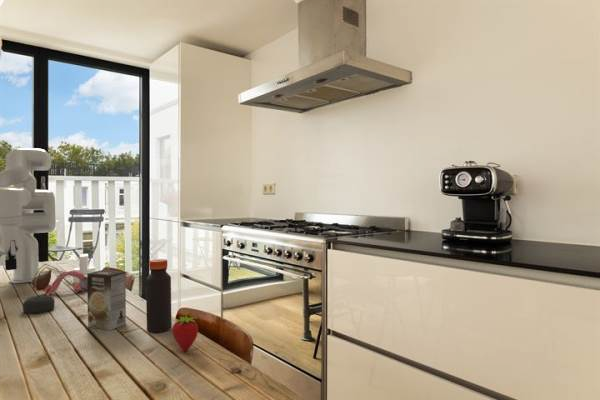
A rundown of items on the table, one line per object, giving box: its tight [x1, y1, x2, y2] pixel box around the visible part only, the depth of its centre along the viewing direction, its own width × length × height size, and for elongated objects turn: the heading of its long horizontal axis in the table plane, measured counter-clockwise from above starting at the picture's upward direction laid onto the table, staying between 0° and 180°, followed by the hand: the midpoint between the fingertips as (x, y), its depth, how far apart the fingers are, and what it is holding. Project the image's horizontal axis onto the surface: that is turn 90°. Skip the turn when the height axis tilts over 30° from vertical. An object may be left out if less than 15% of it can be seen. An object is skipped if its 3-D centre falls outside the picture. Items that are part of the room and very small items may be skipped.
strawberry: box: [172, 311, 199, 352], centre depth 94 cm, size 6×8×10 cm
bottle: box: [145, 258, 173, 334], centre depth 110 cm, size 7×7×20 cm
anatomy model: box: [30, 263, 85, 297], centre depth 155 cm, size 11×15×17 cm
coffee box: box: [86, 269, 127, 331], centre depth 114 cm, size 9×6×16 cm
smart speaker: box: [22, 296, 55, 315], centre depth 130 cm, size 9×9×4 cm
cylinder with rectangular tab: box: [72, 253, 96, 284], centre depth 176 cm, size 9×9×12 cm
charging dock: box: [79, 274, 87, 291], centre depth 161 cm, size 15×2×5 cm, turn 46°
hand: (11, 269), depth 144 cm, fingers closed
